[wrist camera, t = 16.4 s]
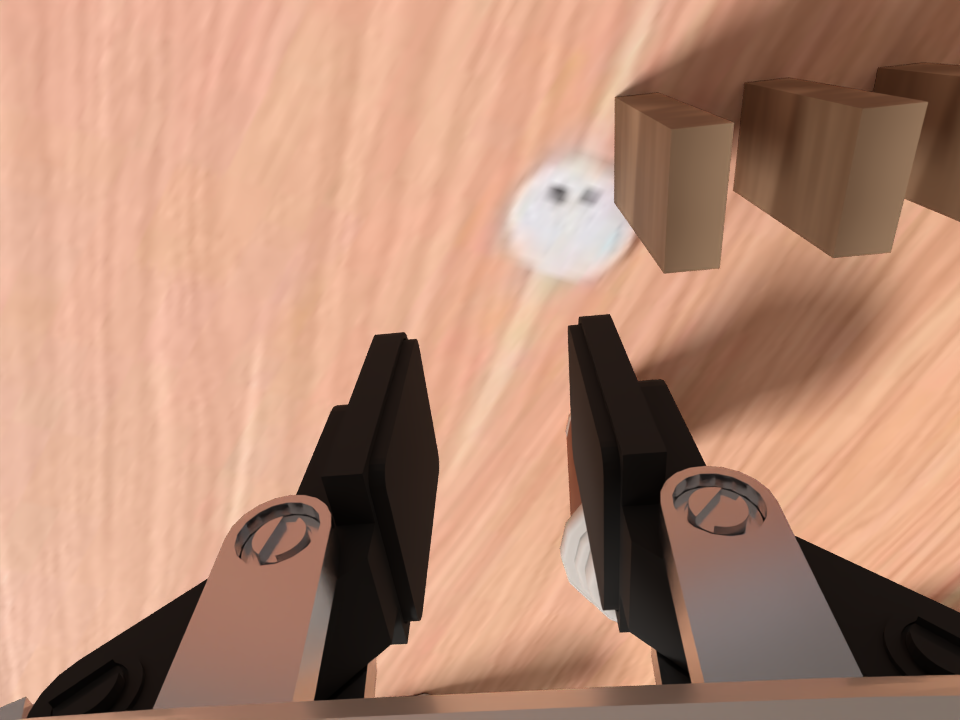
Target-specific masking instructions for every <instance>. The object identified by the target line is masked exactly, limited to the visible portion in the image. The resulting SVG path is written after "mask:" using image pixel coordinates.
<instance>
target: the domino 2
mask: <svg viewBox="0 0 960 720" xmlns="http://www.w3.org/2000/svg"><path fill="white" fill-rule="evenodd" d="M927 105H928V102H927V101H922V100H916V99H910V98H904V97H898V96H892V95H887V94H881V93H875V92H869V91H863V90H857V89H852V88H846V87H840V86H834V85H828V84H823V83H817V82H811V81H805V80H799V79H793V78H781V79H773V80H764V81H755V82H746V83H744V93H743V102H742V112H741V121H740V131H739V140H738V150H737V159H736V169H735V178H734V188H733V191H735V192H736V193H738V194H739V195H741V196H742V197H744V198H745V199H746V200H748V201H749V202H751V203H752V204H754V205H755V206H757V207H758V208H760V209H761V210H763V211H764V212H766V213H767V214H769V215H770V216H772V217H773V218H775V219H776V220H778V221H779V222H780V223H782V224H783V225H785V226H786V227H788V228H789V229H791V230H792V231H794V232H795V233H797V234H798V235H800V236H801V237H803V238H804V239H806V240H807V241H809V242H810V243H812V244H813V245H814V246H816V247H817V248H819V249H820V250H822V251H823V252H825V253H826V254H828V255H829V256H831V257H832V258H838V257H849V256H860V255H871V254H881V253H891V249H892V245H893V241H894V237H895V233H896V229H897V225H898V221H899V217H900V213H901V209H902V205H903V201H904V197H905V193H906V189H907V185H908V181H909V177H910V173H911V169H912V165H913V161H914V157H915V153H916V149H917V145H918V141H919V137H920V133H921V129H922V125H923V121H924V117H925V113H926V109H927Z"/></svg>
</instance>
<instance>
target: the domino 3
mask: <svg viewBox="0 0 960 720" xmlns="http://www.w3.org/2000/svg"><path fill="white" fill-rule="evenodd" d="M873 92H875V93H881V94H887V95H892V96H898V97H904V98H910V99H916V100H922V101H927V102H928V105H927V109H926V113H925V117H924V121H923V125H922V129H921V133H920V137H919V141H918V145H917V149H916V153H915V157H914V161H913V165H912V169H911V173H910V177H909V181H908V185H907V189H906V193H905V197H904V199H907V200H909V201H911V202H914V203H916V204H919V205H921V206H923V207H926V208H928V209H931V210H933V211H935V212H938V213H940V214H943V215H945V216H947V217H950V218H952V219H955V220H957V221H959V222H960V66H959V65H947V64H935V63H915V64H906V65H897V66H888V67H880V68H878V71H877V76H876V81H875V86H874V91H873Z"/></svg>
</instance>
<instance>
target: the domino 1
mask: <svg viewBox="0 0 960 720" xmlns="http://www.w3.org/2000/svg"><path fill="white" fill-rule="evenodd" d="M733 131H734V122H732V121H729V120H726V119H724V118H721V117H719V116H716V115H714V114H711V113H709V112H706V111H704V110H701V109H698V108H696V107H693V106H691V105H688V104H686V103H683V102H681V101H678V100H676V99H673V98H671V97H668V96H665V95H663V94H660V93H649V94H640V95H631V96H622V97H615V163H614V203H615V204H616V206H617V207H618V209H619V210H620V211H621V213H622V214H623V216H624V217H625V219H626V220H627V221H628V223H629V224H630V226H631V227H632V229H633V230H634V231H635V233H636V234H637V236H638V237H639V239H640V240H641V241H642V243H643V244H644V246H645V247H646V249H647V250H648V251H649V253H650V254H651V256H652V257H653V259H654V260H655V261H656V263H657V264H658V266H659V267H660V269H661V270H662V271H663V273H675V272H686V271H697V270H708V269H719V268H720V260H721V250H722V240H723V230H724V220H725V210H726V200H727V191H728V181H729V171H730V161H731V151H732V141H733Z"/></svg>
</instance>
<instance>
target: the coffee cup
mask: <svg viewBox="0 0 960 720" xmlns="http://www.w3.org/2000/svg"><path fill="white" fill-rule="evenodd" d="M566 436H567V453H568V472H569V492H570V511H571V517H570V518H569V519H568V520H567V522H566V524H565V529H564V533H563V537H562V541H561V546H560V553H561V559H562V562H563V565H564V568H565V571H566V574H567V577H568V580H569V582H570V584H571V585H572V586H574V587H575V588H576V589H577V590H578V591H579V592H580V593H581V594H582V595H583V596H584V597H585V598H586V599H588V600H589V601H590V602H591V603H593V604H594V605H595V606H596V607H597V608H598V609H599V610H600V611H601V612H602V613H603V614H605V615H606V616H607V617H608V618H609V619H611V620H613V621H616V622H617V617H616V613H615V610H605V611H603V610H602V606H601V602H600V596H599V591H598V586H597V581H596V575H595V570H594V565H593V560H592V554H591V549H590V544H589V539H588V533H587V528H586V523H585V518H584V513H583V507H582V502H581V497H580V492H579V486H578V481H577V476H576V471H575V465H574V460H573V451H572V434H571V413H570V415H569V418H568V422H567V427H566Z"/></svg>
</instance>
